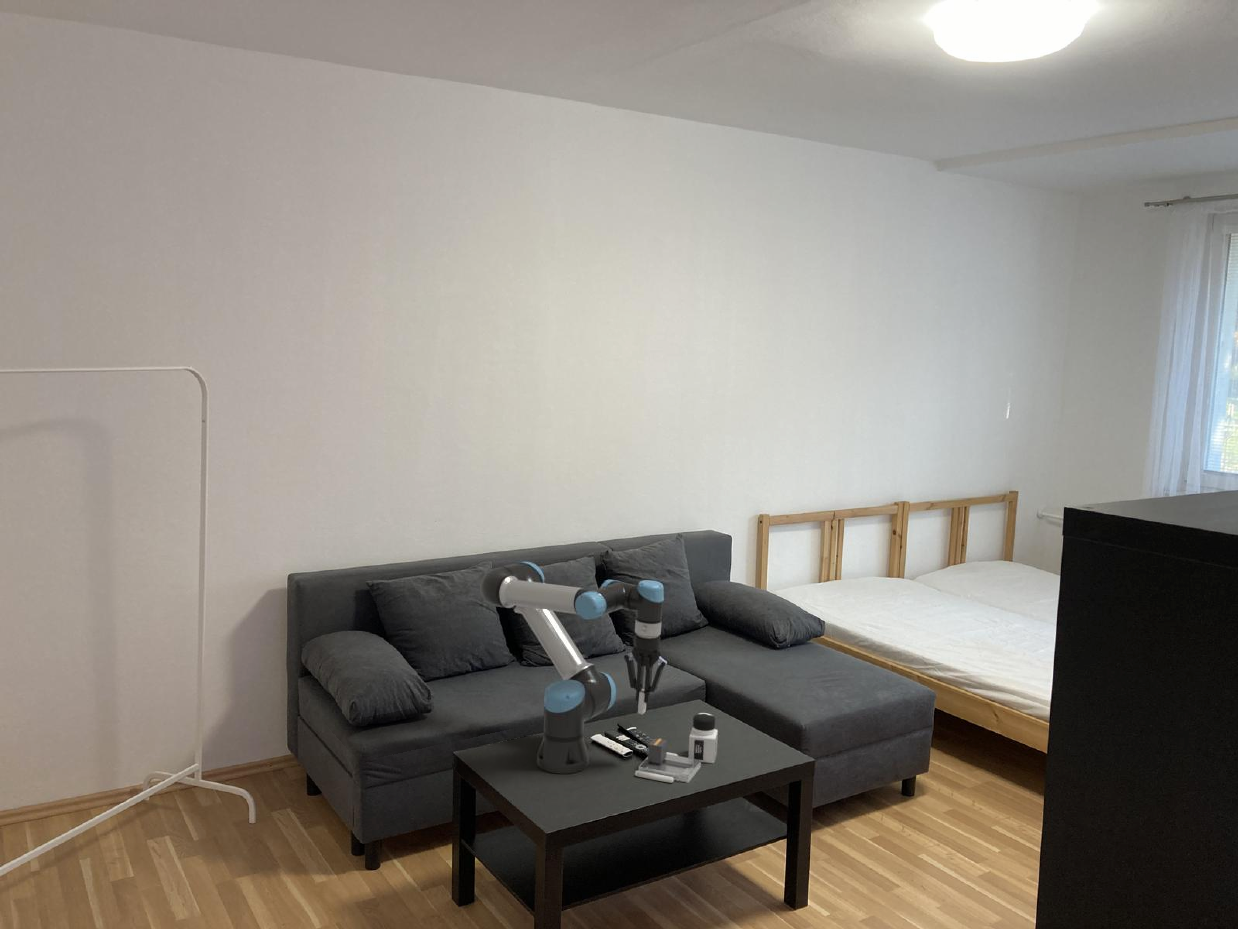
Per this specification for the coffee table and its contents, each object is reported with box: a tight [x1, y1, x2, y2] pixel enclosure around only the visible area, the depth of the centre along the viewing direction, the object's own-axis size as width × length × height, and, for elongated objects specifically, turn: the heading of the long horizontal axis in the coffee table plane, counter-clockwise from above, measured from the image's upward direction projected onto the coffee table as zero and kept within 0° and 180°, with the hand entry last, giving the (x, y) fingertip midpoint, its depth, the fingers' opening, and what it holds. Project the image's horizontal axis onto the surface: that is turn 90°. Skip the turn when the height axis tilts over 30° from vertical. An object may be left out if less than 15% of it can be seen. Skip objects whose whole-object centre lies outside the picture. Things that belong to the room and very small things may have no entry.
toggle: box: [647, 738, 668, 763], centre depth 290 cm, size 4×5×5 cm
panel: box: [638, 754, 702, 783], centre depth 289 cm, size 15×12×2 cm
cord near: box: [634, 770, 675, 784], centre depth 282 cm, size 12×2×2 cm, turn 68°
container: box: [688, 712, 719, 764], centre depth 298 cm, size 8×8×13 cm
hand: (641, 712), depth 291 cm, fingers closed
